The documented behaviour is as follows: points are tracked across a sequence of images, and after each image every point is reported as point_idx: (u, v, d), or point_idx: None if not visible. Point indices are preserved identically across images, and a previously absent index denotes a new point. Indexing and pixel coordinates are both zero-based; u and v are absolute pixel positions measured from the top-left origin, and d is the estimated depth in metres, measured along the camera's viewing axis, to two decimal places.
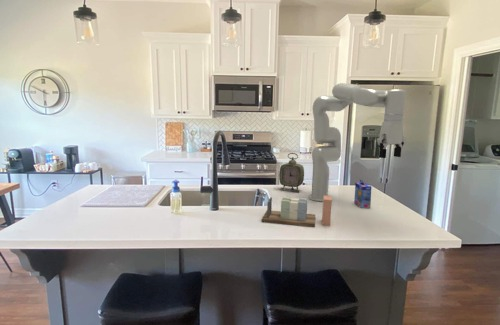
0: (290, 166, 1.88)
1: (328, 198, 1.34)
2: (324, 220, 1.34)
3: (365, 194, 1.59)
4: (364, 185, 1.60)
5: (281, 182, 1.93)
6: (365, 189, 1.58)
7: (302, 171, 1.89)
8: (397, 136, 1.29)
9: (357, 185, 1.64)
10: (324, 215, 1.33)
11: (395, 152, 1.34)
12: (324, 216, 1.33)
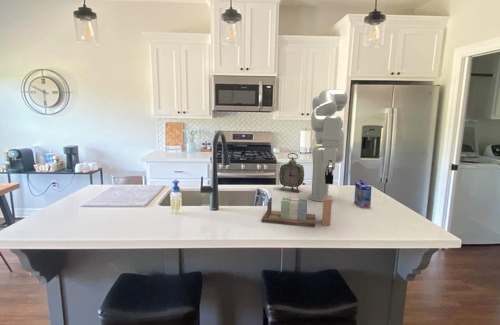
0: (290, 166, 1.88)
1: (328, 198, 1.34)
2: (324, 220, 1.34)
3: (365, 194, 1.59)
4: (364, 185, 1.60)
5: (281, 182, 1.93)
6: (365, 189, 1.58)
7: (302, 171, 1.89)
8: None
9: (357, 185, 1.64)
10: (324, 215, 1.33)
11: None
12: (324, 216, 1.33)
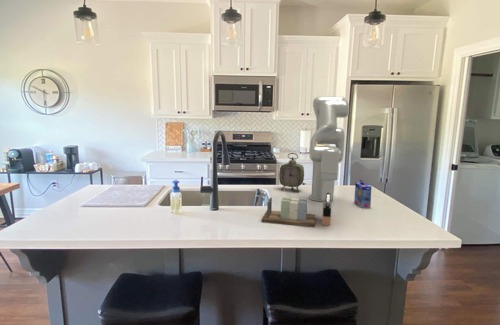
0: (290, 166, 1.88)
1: None
2: (324, 220, 1.34)
3: (365, 194, 1.59)
4: (364, 185, 1.60)
5: (281, 182, 1.93)
6: (365, 189, 1.58)
7: (302, 171, 1.89)
8: None
9: (357, 185, 1.64)
10: None
11: None
12: (324, 216, 1.33)
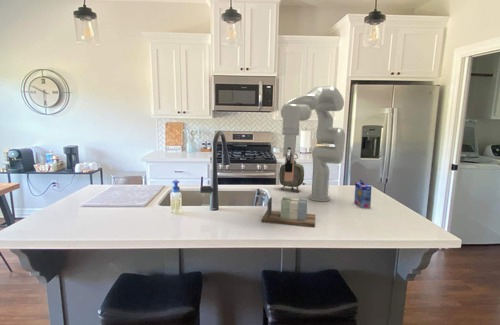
0: None
1: None
2: (286, 176, 1.34)
3: (365, 194, 1.59)
4: (364, 185, 1.60)
5: (281, 182, 1.93)
6: (365, 189, 1.58)
7: (302, 171, 1.89)
8: None
9: (357, 185, 1.64)
10: None
11: None
12: (286, 172, 1.33)
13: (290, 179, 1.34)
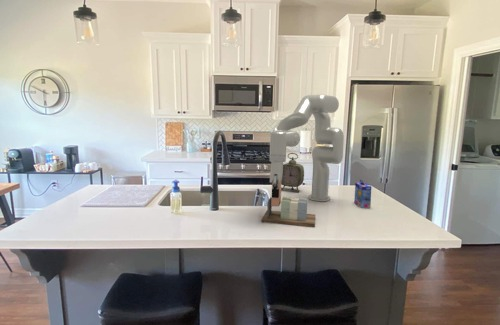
0: (290, 166, 1.88)
1: None
2: (273, 201, 1.37)
3: (365, 194, 1.59)
4: (364, 185, 1.60)
5: (281, 182, 1.93)
6: (365, 189, 1.58)
7: (302, 171, 1.89)
8: (282, 174, 1.38)
9: (357, 185, 1.64)
10: None
11: None
12: None
13: (277, 204, 1.37)
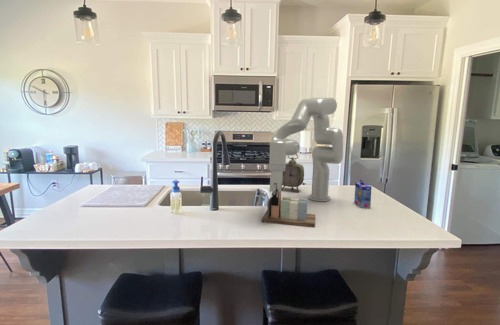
0: (290, 166, 1.88)
1: None
2: (273, 212, 1.38)
3: (365, 194, 1.59)
4: (364, 185, 1.60)
5: None
6: (365, 189, 1.58)
7: (302, 171, 1.89)
8: None
9: (357, 185, 1.64)
10: (273, 208, 1.38)
11: None
12: (273, 209, 1.38)
13: (276, 216, 1.38)
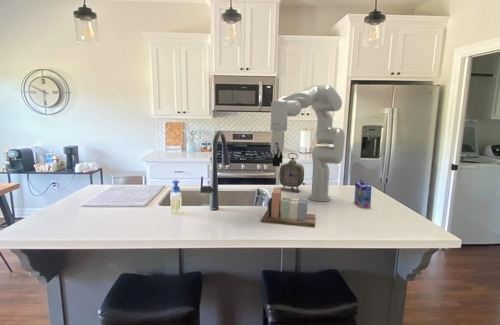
0: (290, 166, 1.88)
1: (277, 191, 1.38)
2: (273, 212, 1.38)
3: (365, 194, 1.59)
4: (364, 185, 1.60)
5: (281, 182, 1.93)
6: (365, 189, 1.58)
7: (302, 171, 1.89)
8: (283, 144, 1.36)
9: (357, 185, 1.64)
10: (273, 208, 1.38)
11: None
12: (273, 209, 1.38)
13: (276, 216, 1.38)
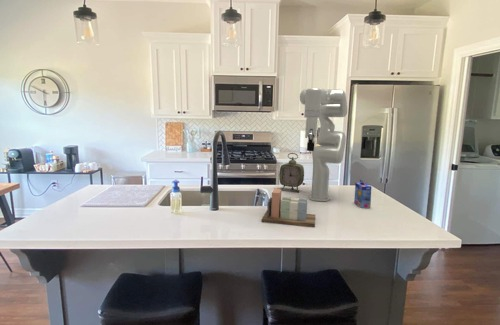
0: (290, 166, 1.88)
1: (277, 191, 1.38)
2: (273, 212, 1.38)
3: (365, 194, 1.59)
4: (364, 185, 1.60)
5: (281, 182, 1.93)
6: (365, 189, 1.58)
7: (302, 171, 1.89)
8: (316, 130, 1.44)
9: (357, 185, 1.64)
10: (273, 208, 1.38)
11: None
12: (273, 209, 1.38)
13: (276, 216, 1.38)
